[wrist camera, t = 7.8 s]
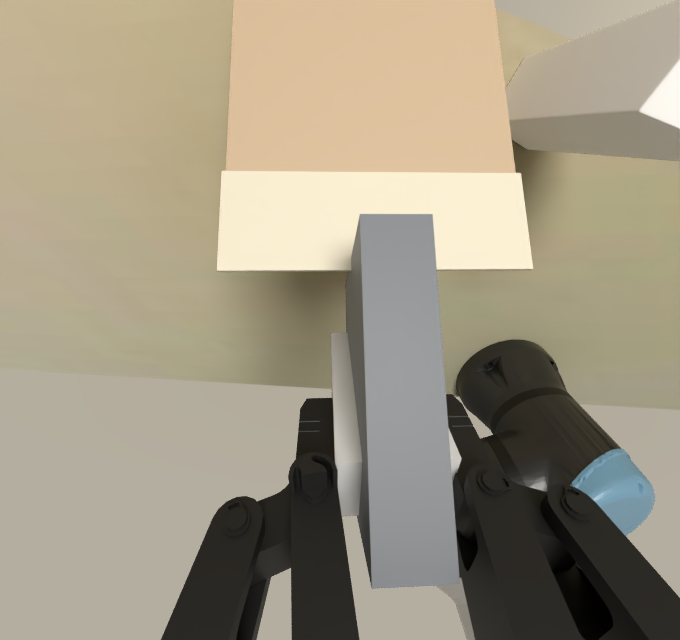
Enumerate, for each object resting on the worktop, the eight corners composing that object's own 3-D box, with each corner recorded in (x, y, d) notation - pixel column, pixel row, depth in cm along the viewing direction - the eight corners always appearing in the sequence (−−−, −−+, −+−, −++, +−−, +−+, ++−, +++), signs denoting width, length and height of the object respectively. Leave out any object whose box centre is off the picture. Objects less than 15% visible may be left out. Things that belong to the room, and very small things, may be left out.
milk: (484, 122, 33) (694, 107, 14) (524, 56, 30) (850, -73, 11) (527, 150, 35) (769, 171, 16) (569, 89, 32) (923, 24, 13)
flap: (501, 475, 14) (667, 574, 7) (238, 484, 14) (146, 599, 7) (448, -66, 19) (514, -308, 12) (256, -73, 19) (215, -330, 12)
